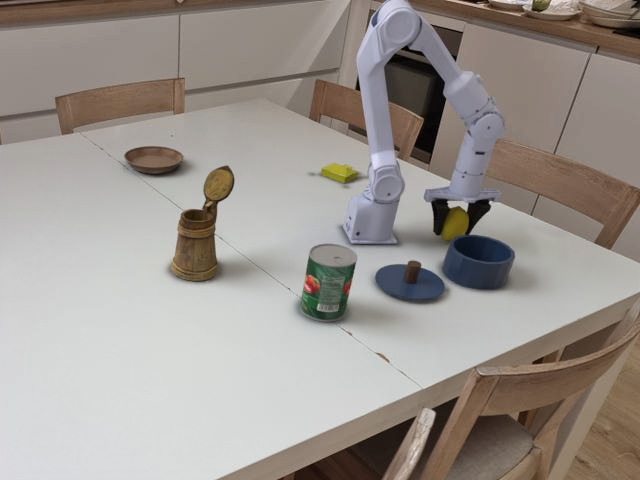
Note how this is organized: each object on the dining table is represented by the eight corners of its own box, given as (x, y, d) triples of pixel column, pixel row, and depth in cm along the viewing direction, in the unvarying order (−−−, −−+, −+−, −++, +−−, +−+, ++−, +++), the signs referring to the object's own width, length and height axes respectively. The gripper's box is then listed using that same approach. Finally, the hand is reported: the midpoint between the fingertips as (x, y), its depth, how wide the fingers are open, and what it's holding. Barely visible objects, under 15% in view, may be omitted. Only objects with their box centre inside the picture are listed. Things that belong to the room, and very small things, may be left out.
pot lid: (385, 303, 120) (391, 281, 117) (366, 269, 130) (371, 247, 127) (453, 303, 121) (461, 280, 118) (429, 268, 130) (435, 247, 127)
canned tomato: (291, 302, 120) (299, 247, 113) (328, 294, 122) (338, 239, 116) (316, 326, 114) (327, 269, 107) (354, 316, 117) (367, 260, 110)
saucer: (147, 151, 178) (147, 141, 176) (194, 164, 171) (194, 153, 169) (112, 168, 168) (111, 157, 166) (160, 182, 161) (160, 171, 160)
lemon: (464, 250, 137) (475, 213, 132) (435, 247, 137) (446, 210, 133) (460, 237, 141) (471, 202, 136) (432, 234, 142) (442, 199, 137)
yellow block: (312, 174, 167) (313, 163, 165) (334, 165, 172) (336, 154, 170) (345, 186, 161) (347, 175, 159) (367, 177, 166) (369, 165, 164)
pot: (455, 290, 124) (464, 263, 121) (433, 259, 133) (440, 234, 130) (515, 289, 125) (526, 263, 121) (489, 259, 134) (498, 234, 130)
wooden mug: (240, 259, 132) (249, 171, 121) (199, 286, 124) (204, 194, 113) (203, 245, 137) (208, 158, 126) (161, 270, 128) (163, 180, 117)
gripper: (440, 177, 126) (422, 242, 135) (516, 178, 127) (493, 242, 135) (427, 163, 132) (410, 226, 140) (500, 163, 132) (479, 226, 141)
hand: (450, 233), depth 138 cm, fingers closed on lemon, 5 cm apart
